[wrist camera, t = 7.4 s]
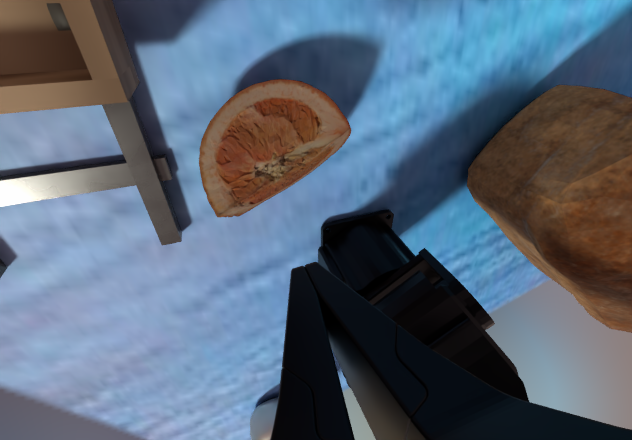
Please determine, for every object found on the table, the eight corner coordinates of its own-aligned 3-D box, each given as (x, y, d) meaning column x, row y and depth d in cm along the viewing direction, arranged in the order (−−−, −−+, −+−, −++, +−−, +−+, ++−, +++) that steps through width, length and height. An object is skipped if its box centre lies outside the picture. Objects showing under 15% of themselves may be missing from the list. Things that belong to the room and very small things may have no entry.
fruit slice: (239, 206, 21) (251, 252, 17) (167, 128, 17) (161, 166, 13) (339, 141, 21) (373, 173, 17) (292, 44, 16) (323, 57, 13)
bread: (527, 270, 42) (646, 365, 31) (434, 173, 26) (617, 303, 15) (603, 207, 39) (765, 289, 28) (553, 50, 22) (902, 98, 11)
